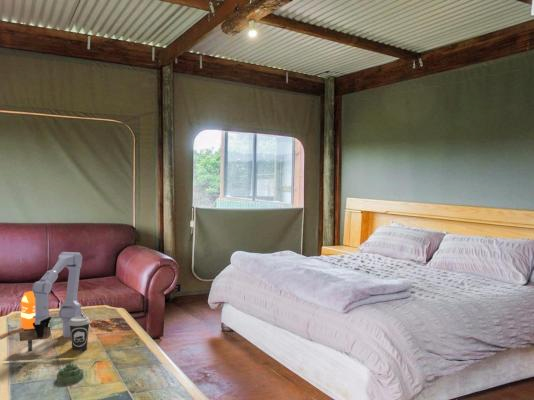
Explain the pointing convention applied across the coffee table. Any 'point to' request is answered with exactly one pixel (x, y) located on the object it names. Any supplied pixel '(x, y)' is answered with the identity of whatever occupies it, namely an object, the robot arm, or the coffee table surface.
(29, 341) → the peg
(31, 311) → the orange juice
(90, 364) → the coffee table surface
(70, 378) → the decorative artifact
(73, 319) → the coffee cup
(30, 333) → the walnut link
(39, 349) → the birch board
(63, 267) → the robot arm
